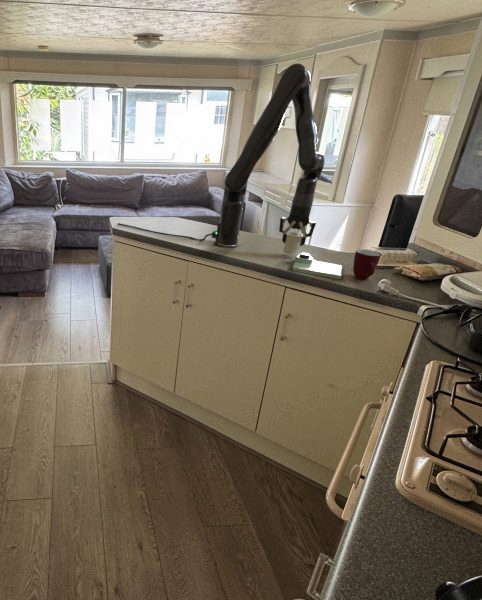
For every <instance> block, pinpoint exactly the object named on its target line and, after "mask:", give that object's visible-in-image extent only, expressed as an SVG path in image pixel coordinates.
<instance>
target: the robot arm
mask: <svg viewBox="0 0 482 600" xmlns="http://www.w3.org/2000/svg"><path fill="white" fill-rule="evenodd" d="M291 101H292V104H293V105H292V106H293V110H294V111H293V112H294V128H295V129H294V130H295V135H296V140H297V144H298V149H297V151H298V152H297V161H298V162H297V163H298V166H299V167H300V169H301V170H302V171H303V173H302V175H301V177H299V179H298V180H297V183H296V187H295V191H294V195H293V198H292V201H291V206H290V211H289V215H288V217H284V216H281V217H280V219H279V229H278V231H279V233H282V238H281V242H282V243H283V244H285V240H286V236H287V233H288V232H290V230H291V229H293V230H300V232H301V234H303V237H302V241H301V245H300V247H303V246H304V245H305V244H306V240H307V238H310V237H312V235H313V233H314V230H315V229H316V228H315V227H316V225H317V221H312V220H310V215H311V213H312V208H313V203H314V198H315V192H316V188H317V184H318V181H319V179H320V176H321V174H322V172H323V170H324V167H325V162H326V161H325V156H324V155H323V153H321V152H320V151H317V150H316V149H317V148H316V144H317V143H318V141H319V137H318V131H317V126H316V120H315V116H314V112H313V106H312V98H311V73H310V71H309V70H308V68H307V67H306V66H304V64H302V63H297V62H296V63H293V64H290V65H289V66H288V67H286V68H285V70H284V71H283V73H282V74H281V77H280V79H279V81H278V83H277V85H276V88H275V90H274V92H273V94H272V96H271V98H270V100H269V102H268V103H267V104H266V106H265V108H264V109H263V111H262V113H261V115H260V116H259V118H258V119H257V121H256V123H255V124H254V126H253V128H252V130H251V131H250V134H249V135H248V138H247V140H246V142H245V144H244V146H243V148H242V151H241V153H240V155H239V157H238V159H237V160H236V161H235V163H234V164H233V166H232V168H231V169H230V170H229V172H228V173H227V174H226V175H225V177H224V191H223V196H222V199H221V200H222V201H221V208H220V215H219V220H218V221H219V222H218V223H217V227H216V230H213V231H212V232H211V233H207V234H206V235H204V237H203V238H201V239H199V238H195V237H192V236H187V235H180V234H172V233H166V232H159V231H154V230H151V229H145V228H141V227H137V226H133V225H129V224H125V223H120V222H118V223H117V225H119V226H123V227H127V228H133V229H136V230H140V231H143V232H144V231H145V232H149V233H153V234H157V235H162V236H163V235H165V236H168V237H169V236H170V237H177V238H185V239H191V240H196V241H201V242H203V241H205V240H206V238H207V237H209V236H211V238H212V239H215V241H214V245H218V246H220V247H223V248H224V247H225V248H235V247H238V242H239V238H240V229H241V222H242V217H243V211H244V210H243V209H244V204H245V201H246V200H245V199H246V194H247V188H248V181H249V179H250V177H251V175H252V172H253V170H254V168H255V167H256V165H257V163H258V162H259V160H260V159H261V158H262V157H263V155H264V154H265V153H266V152H267V150H268V149H269V147H270V146H271V144H272V143H273V141H274V139H275V138H276V135H277V134H278V132H279V131H280V129H281V127H282V123H283V120H284V118H285V114H286V113H287V110H288V107H289V106H290V103H291ZM286 222H287V223H288V226H287V227H286V228H285V229H284V224H285V223H286ZM308 225H309V227H310V229H309V231H308V232H307V229H306V226H308Z"/></svg>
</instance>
